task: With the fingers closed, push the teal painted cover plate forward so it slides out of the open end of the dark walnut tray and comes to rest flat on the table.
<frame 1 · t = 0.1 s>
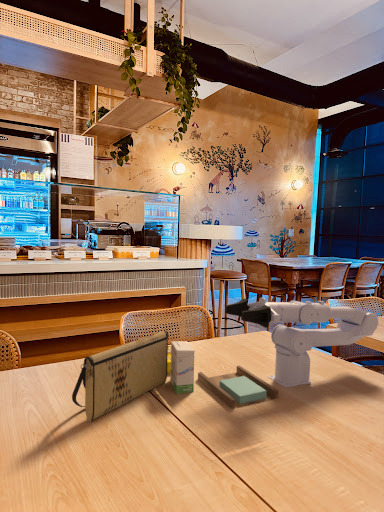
hand: (233, 312, 93), 22 cm above the table, tool horizontal, fingers open, 7 cm apart
element tile: (158, 366, 113), on the table
walnut tray: (237, 391, 96), on the table
teal plate: (242, 392, 94), resting on walnut tray
ink box: (181, 388, 97), on the table
clutch purse: (123, 399, 90), on the table
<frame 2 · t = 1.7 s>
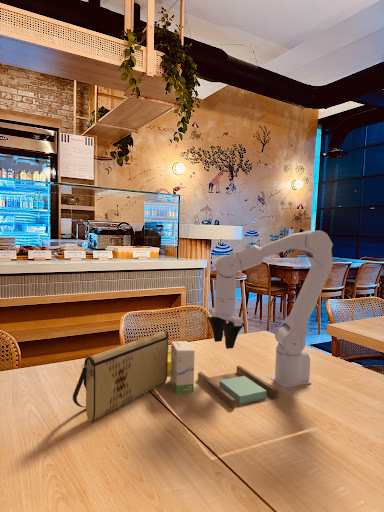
hand: (223, 344, 102), 10 cm above the table, tool pointing down, fingers open, 6 cm apart
nothing on the table moved.
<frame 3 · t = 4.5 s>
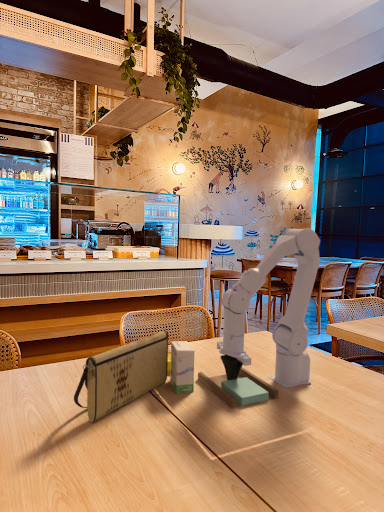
hand: (232, 381, 98), 1 cm above the table, tool pointing down, fingers closed
teal plate: (244, 394, 93), point 1 cm above the table
everything else where it was.
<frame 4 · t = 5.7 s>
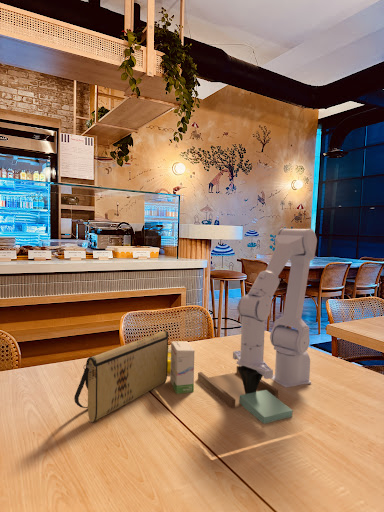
hand: (250, 395, 90), 1 cm above the table, tool pointing down, fingers closed
teal plate: (264, 410, 85), on the table, touching gripper
everything else where it was.
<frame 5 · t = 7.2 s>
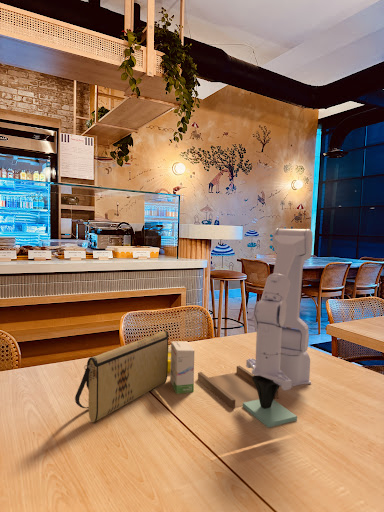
hand: (265, 406, 85), 1 cm above the table, tool pointing down, fingers closed, pressing on teal plate
teal plate: (268, 417, 84), on the table, touching gripper
everything else where it was.
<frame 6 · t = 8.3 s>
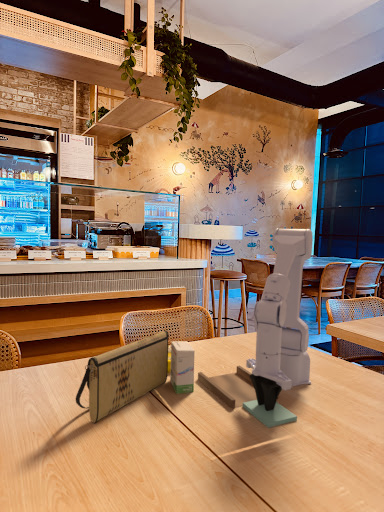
hand: (265, 406, 85), 1 cm above the table, tool pointing down, fingers closed
teal plate: (268, 417, 84), on the table, touching gripper
everything else where it was.
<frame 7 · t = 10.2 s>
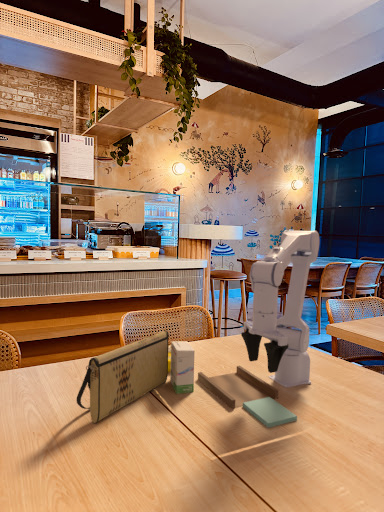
hand: (262, 365, 87), 10 cm above the table, tool pointing down, fingers open, 7 cm apart
teal plate: (268, 417, 84), on the table
everything else where it was.
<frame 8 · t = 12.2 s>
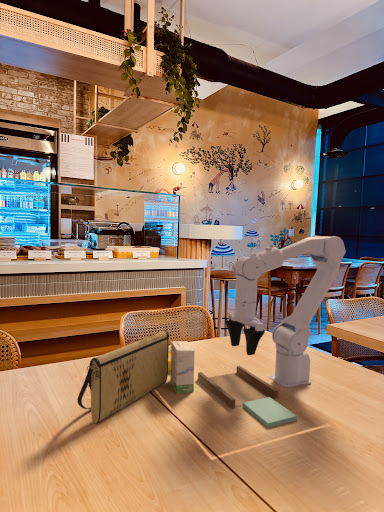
hand: (242, 350, 98), 10 cm above the table, tool pointing down, fingers open, 7 cm apart
nothing on the table moved.
at the end: teal plate inside the target area (5.7 cm from its centre), on the table; teal plate touching table; teal plate tilted 0° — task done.
